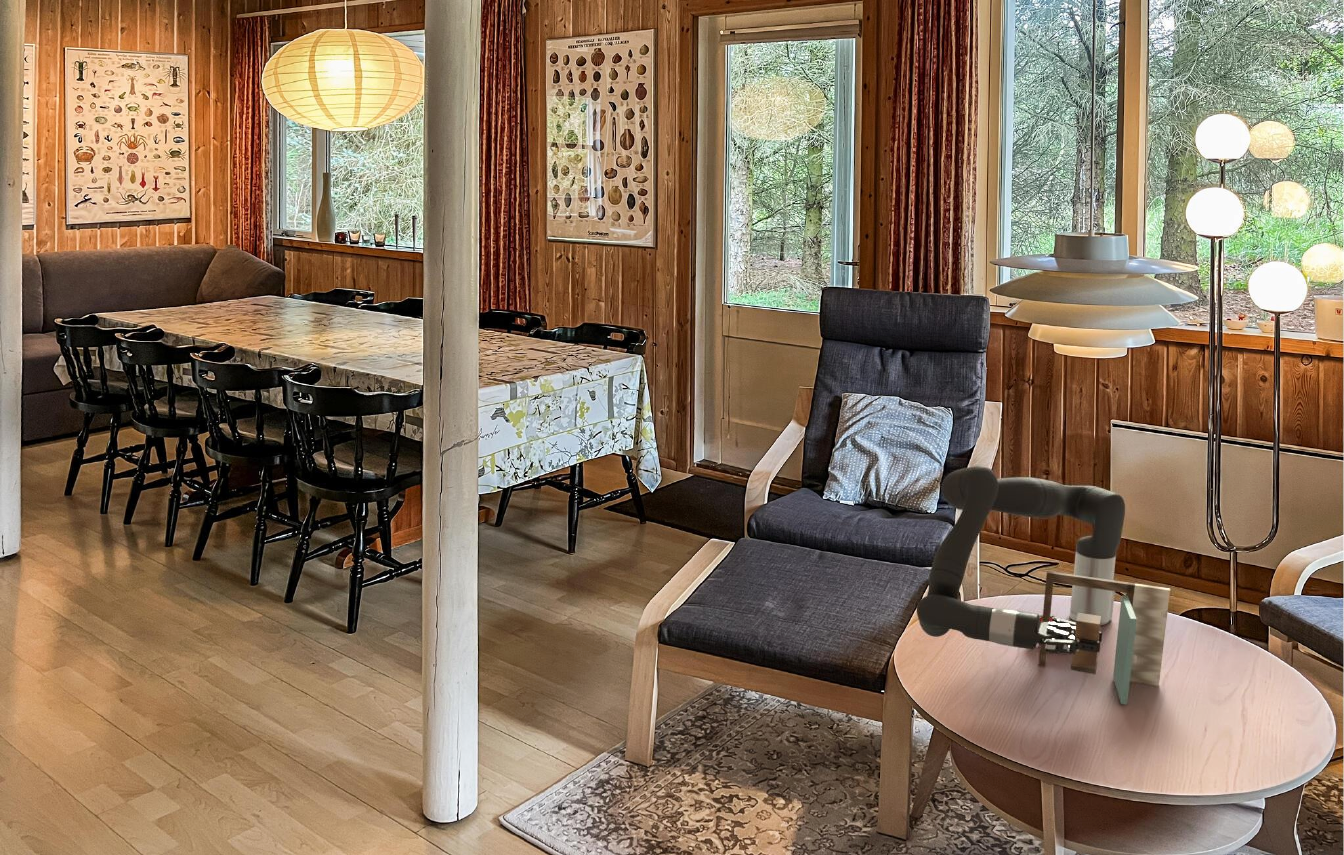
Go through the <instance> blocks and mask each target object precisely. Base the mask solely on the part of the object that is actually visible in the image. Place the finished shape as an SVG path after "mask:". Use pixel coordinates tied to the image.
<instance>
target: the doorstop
mask: <svg viewBox="0 0 1344 855" xmlns="http://www.w3.org/2000/svg"><path fill="white" fill-rule="evenodd" d="M1075 622H1076V627H1075V637H1077V638H1080V640H1081V639H1088V640H1094V641H1099V634H1100V632H1101V625H1100V624H1101V616H1097V615H1091V614H1084V613H1078V615H1077V619H1076V621H1075ZM1071 659H1072V660H1071V665H1070V671H1075V672H1080V673H1086V674H1092V675H1096V673H1097V669H1098V668H1097V667H1098V653H1097V652H1091V651H1084V650H1079V651H1075V654H1072V658H1071Z"/></svg>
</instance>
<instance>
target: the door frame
mask: <svg viewBox="0 0 1344 855" xmlns="http://www.w3.org/2000/svg"><path fill="white" fill-rule="evenodd" d="M1045 576H1046V577H1045V588H1044V598H1043V599H1044V600H1043V609H1042V610H1043V611H1042V615H1043V619H1042V622H1050V616H1051V612H1052V604H1053V603H1052V602H1053V591H1054V583H1056V584H1064V585H1070V586H1073V585H1075V586H1082V587H1089V588H1096V589H1103V590H1109V591H1115V593H1116V592H1117V593H1123V594H1125V596H1128V598H1129V601H1130V603H1131V606H1132V608H1133V611H1134V614H1135V616H1136V619H1137V620H1136V629H1135V638H1134V647H1133V655H1137V662H1136V663H1132V665H1131V674H1130V682H1132V683H1133V682H1134V683H1138V684H1144V685H1145V684H1146V685H1149V686H1151V685H1152V686H1157V687H1159V685H1160V678H1161V671H1162V670H1161V669H1162V664H1163V663H1162V661H1163V653H1164V646H1165V645H1164V644H1165V637H1166V629H1167V620H1168V619H1167V618H1168V611H1169V603H1170V602H1169V601H1170V594H1171V592H1170V591H1171V588H1168V587H1161V586H1156V585H1155V586H1154V585H1148V584H1141V583H1133V582H1126V581H1121V580H1120V581H1119V580H1114V579H1113V580H1107V579H1100V578H1093V577H1086V576H1079V575H1074V574H1071V573H1064V572H1057V571H1050V570H1046V575H1045ZM1047 655H1048V652H1045V646H1044V645H1041V644H1040V646H1039V654H1038V663H1037V665H1038V666H1041V667H1046V664H1047V657H1048V656H1047Z"/></svg>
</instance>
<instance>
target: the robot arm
mask: <svg viewBox="0 0 1344 855" xmlns="http://www.w3.org/2000/svg"><path fill="white" fill-rule="evenodd" d="M941 493H942V496H943V499H944V500H945V501H946V503H947V504H948V505H949V506H951V507H952V508H954V509H957V510H960V511H961V513H960V514H959V517H958V519H957V520H956V522H955V523H954V524H953V527H952V528H951V529H950V531H949V532H948V533H947V535H946V536H945V537H944V539H943V540H942V542H941V543H940V544H939V547H938V549H937V551H936V553H935V556H934V558H933V562H932V564H931V568H930V572H929V576H928V591H927V595H926V596H924V597H922V598H921V599H920V600H919V601H918V602H917V606H916V615H917V618H918V621H919V626H920V627H921V629H922V630H923V632H924V633H926V635H928V636H931V637H934V638H935V637H936V638H937V637H942V636H944V635H946V634H947V633H948V632H949V631H950V630H954V631H958V632H960V633H961V634H962V635H963V636H965V638H966V637H967V638H969V639H974V640H978V641H979V640H980V641H985V642H990V643H995V644H997V645H1001V646H1006V647H1008V646H1009V647H1013V648H1019V649H1025V650H1031V651H1035V650H1036V648H1037V646H1038V645H1039V644H1041V645H1044V646H1045V652H1047V654H1048V653H1050V654H1065V655H1067V654H1068V655H1073V654H1075V651H1079V650H1084V651H1091V652H1097V654H1098V653H1099V652H1100V651H1101V643H1102V639H1103V633H1102V632H1101V631H1100V634H1099V641H1094V640H1088V639H1081V640H1080V638H1077V637H1075V627H1076V619H1077V615H1078V613H1084V614H1091V615H1097V616H1101V624H1100V626H1105V625H1107V624H1108V623H1109V622H1110V621H1112V620H1113V612H1114V604H1115V603H1114V602H1115V594H1116V591H1109V590H1103V589H1096V588H1089V587H1082V586H1075V585H1072V588H1071V599H1070V608H1069V618H1070V619H1071V620H1068V619H1064V618H1062V619H1061V617H1056V616H1055V617H1052V622H1040V618H1041V617H1040V614H1039V613H1035V612H1030V611H1023V610H1016V609H1010V608H999V607H997V608H995V607H989V606H981V605H976V604H975V605H974V604H970V603H967V602H965V601H963V600H959V599H958V597H959V592H960V589H961V586H962V583H963V580H964V576H965V573H966V570H967V566H968V562H969V560H970V557H971V554H972V551H973V548H974V546H975V543H976V541H977V539H978V538H979V535H980V533H981V530H982V529H983V527H984V524H985V522H986V521H987V518H988V517H989V514H990V512H991V511H993V512H994V511H995V512H998V513H1004V514H1009V515H1013V516H1022V517H1026V518H1031V519H1032V518H1034V519H1050V518H1054V517H1055V516H1063V517H1064V516H1065V517H1068V518H1072V519H1076V520H1078V521H1080V522H1083V523H1086V524H1088V525H1091V526H1093V531H1092V535H1087V536H1081V537H1080V538H1078V539H1077V541H1076V546H1075V547H1076V548H1075V556H1074V567H1073V568H1074V570H1073V575H1079V576H1086V577H1093V578H1100V579H1107V580H1114V575H1115V567H1116V566H1115V565H1116V558H1117V550H1118V549H1119V546H1120V544H1121V539H1122V534H1123V527H1124V522H1125V516H1126V504H1125V500H1124V498H1123V497H1122V495H1120V494H1119V493H1117V492H1114V491H1110V490H1109V489H1105V488H1102V487H1099V486H1094V485H1065V484H1061V483H1058V482H1055V481H1053V480H1048V479H1043V478H1037V477H1031V476H1030V477H1028V476H1027V477H1026V476H1025V477H1024V476H1023V477H1021V476H1020V477H1019V476H1016V477H1002V478H998V477H997V476H996V473H995V472H994V471H993V470H992V469H991V468H990V467H988V466H986V465H975V466H971V467H964V468H960V469H956V470H954V471H952V472H950V473H949V474H947V476H946V477H945V478H944V479H943V480H942V483H941Z"/></svg>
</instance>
